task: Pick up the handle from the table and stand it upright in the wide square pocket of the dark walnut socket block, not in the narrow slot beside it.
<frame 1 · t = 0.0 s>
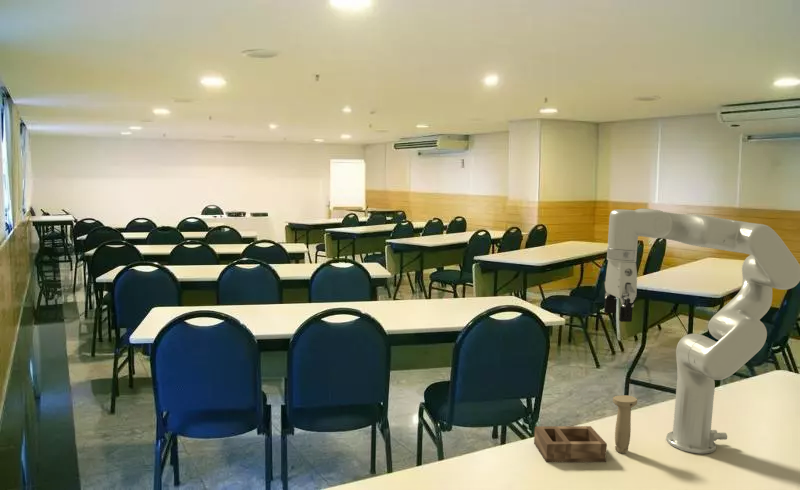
hand: (617, 317, 162), 37 cm above the table, tool pointing down, fingers open, 9 cm apart
handle: (621, 451, 162), on the table
socket block: (568, 452, 161), on the table
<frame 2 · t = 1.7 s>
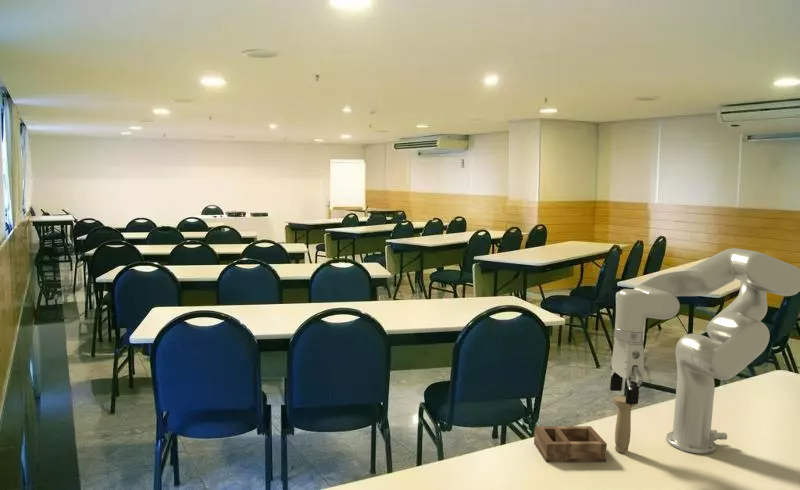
hand: (623, 396, 160), 16 cm above the table, tool pointing down, fingers open, 9 cm apart
nothing on the table moved.
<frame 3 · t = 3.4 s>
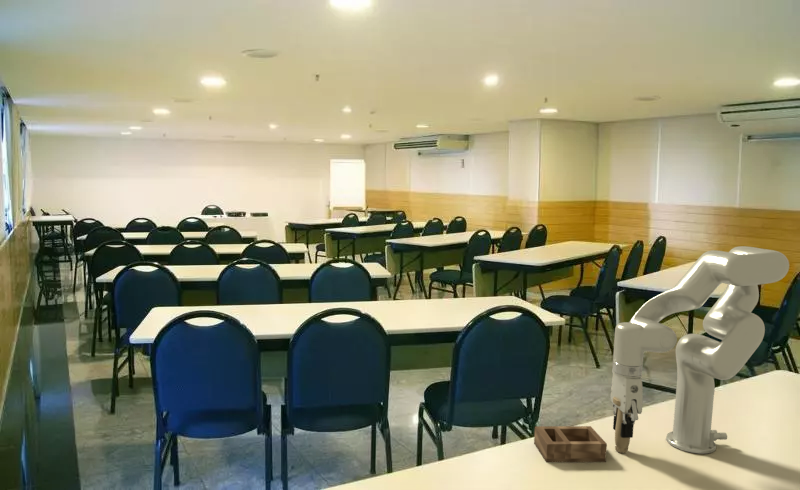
hand: (622, 432, 162), 5 cm above the table, tool pointing down, fingers closed on handle, 3 cm apart
handle: (621, 451, 162), on the table, touching gripper
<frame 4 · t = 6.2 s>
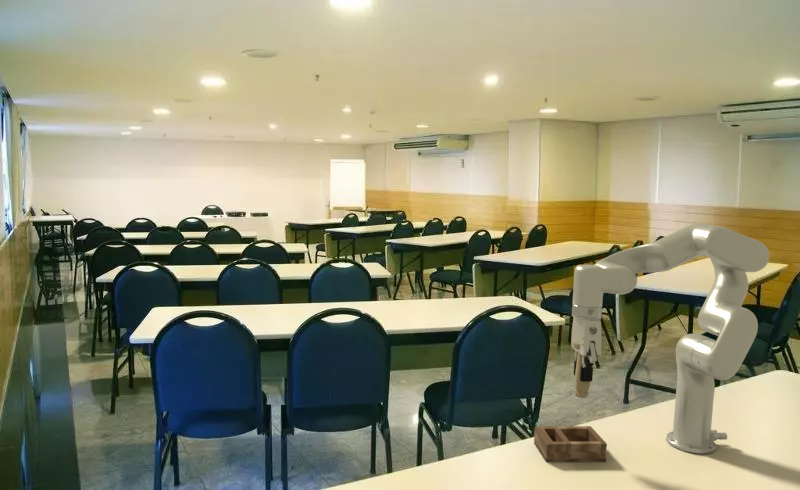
hand: (582, 377, 159), 21 cm above the table, tool pointing down, fingers closed on handle, 3 cm apart
handle: (581, 397, 159), point 16 cm above the table, touching gripper
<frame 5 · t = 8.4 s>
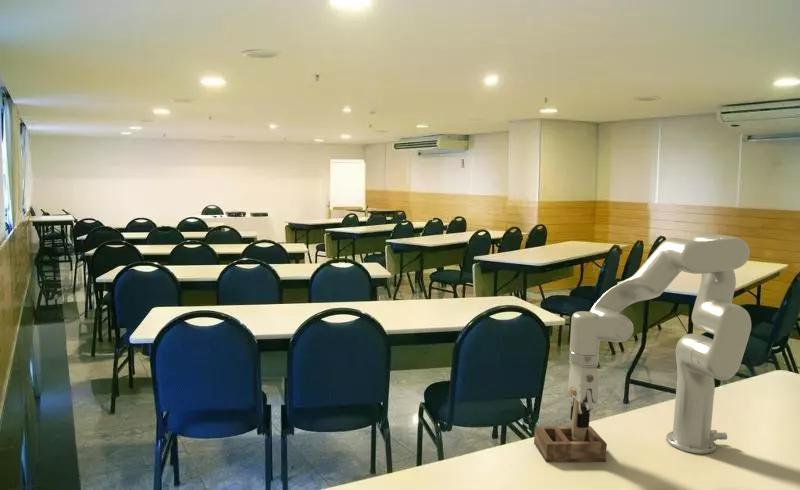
hand: (579, 423, 160), 8 cm above the table, tool pointing down, fingers closed on handle, 3 cm apart
handle: (578, 442, 161), point 3 cm above the table, touching gripper
when the fingers open (7 cm above the table, at t = 9.0 s): handle stays where it is, resting on socket block.
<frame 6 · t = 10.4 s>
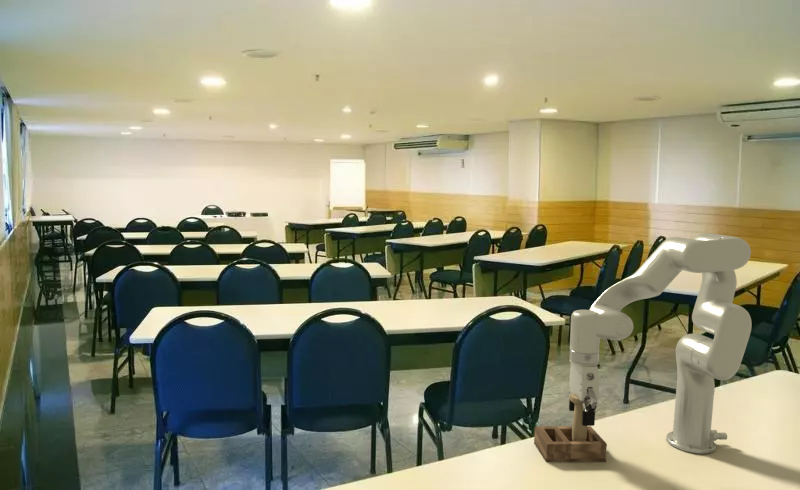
hand: (581, 417, 160), 10 cm above the table, tool pointing down, fingers open, 9 cm apart
handle: (578, 449, 161), point 1 cm above the table, touching socket block
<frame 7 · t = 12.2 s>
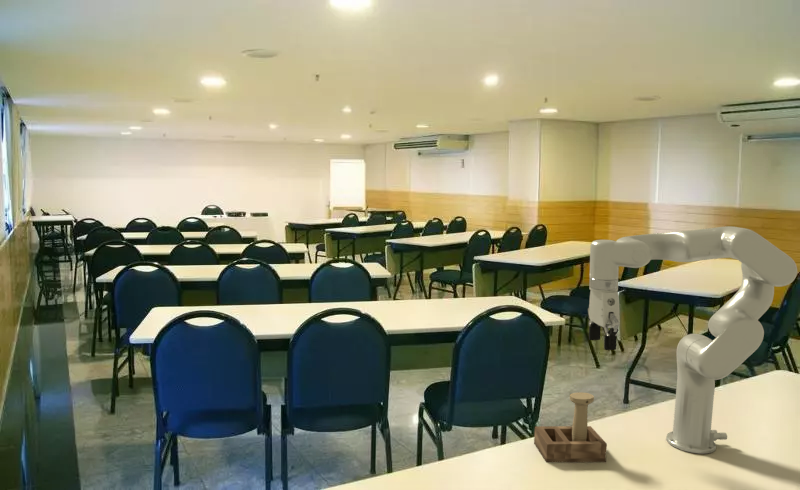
hand: (602, 344, 166), 28 cm above the table, tool pointing down, fingers open, 9 cm apart
nothing on the table moved.
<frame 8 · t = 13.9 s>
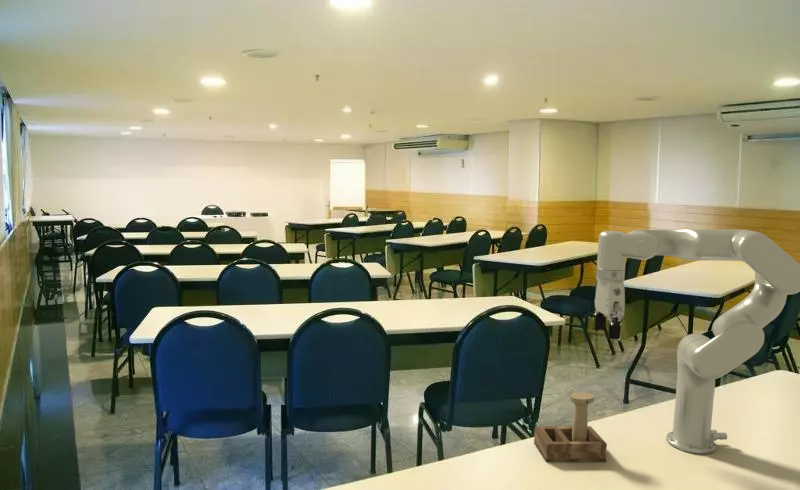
hand: (606, 334, 169), 30 cm above the table, tool pointing down, fingers open, 9 cm apart
nothing on the table moved.
at the end: handle 0.2 cm from the target spot on the socket block, point 0.8 cm above the socket block's base; handle tilted 0°; the gripper is holding nothing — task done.
